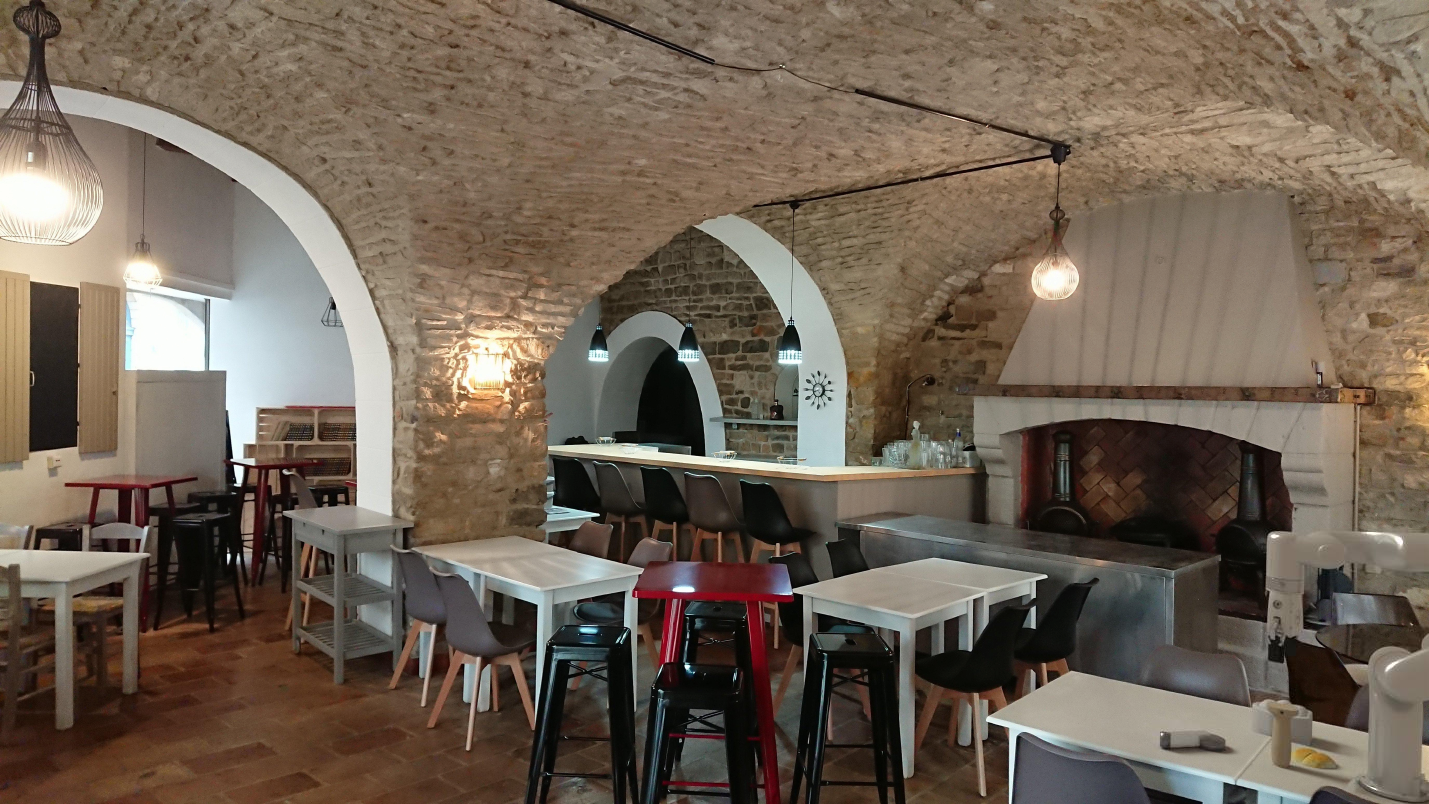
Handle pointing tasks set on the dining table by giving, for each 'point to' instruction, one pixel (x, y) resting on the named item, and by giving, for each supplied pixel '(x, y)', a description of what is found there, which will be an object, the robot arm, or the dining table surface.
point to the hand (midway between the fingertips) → (1282, 658)
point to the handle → (1281, 732)
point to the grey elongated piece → (1192, 740)
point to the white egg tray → (1299, 724)
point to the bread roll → (1313, 758)
